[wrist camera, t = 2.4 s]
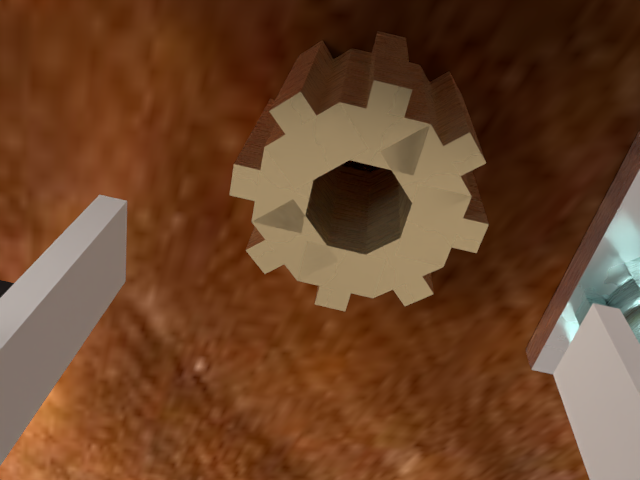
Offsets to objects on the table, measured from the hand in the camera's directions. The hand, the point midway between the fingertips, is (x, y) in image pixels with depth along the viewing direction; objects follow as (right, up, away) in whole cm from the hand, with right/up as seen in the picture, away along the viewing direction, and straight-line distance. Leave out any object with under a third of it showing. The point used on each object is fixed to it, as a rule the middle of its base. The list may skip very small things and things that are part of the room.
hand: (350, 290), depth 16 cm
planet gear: (+1, +6, +9) cm, 11 cm away
